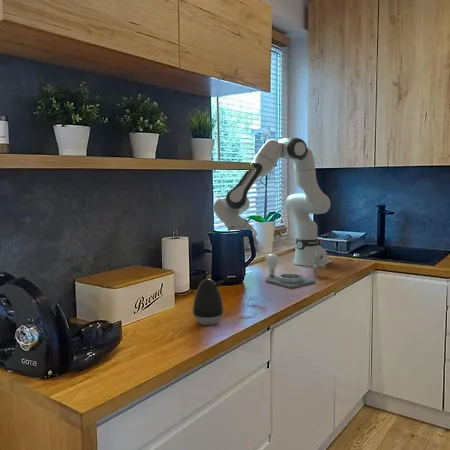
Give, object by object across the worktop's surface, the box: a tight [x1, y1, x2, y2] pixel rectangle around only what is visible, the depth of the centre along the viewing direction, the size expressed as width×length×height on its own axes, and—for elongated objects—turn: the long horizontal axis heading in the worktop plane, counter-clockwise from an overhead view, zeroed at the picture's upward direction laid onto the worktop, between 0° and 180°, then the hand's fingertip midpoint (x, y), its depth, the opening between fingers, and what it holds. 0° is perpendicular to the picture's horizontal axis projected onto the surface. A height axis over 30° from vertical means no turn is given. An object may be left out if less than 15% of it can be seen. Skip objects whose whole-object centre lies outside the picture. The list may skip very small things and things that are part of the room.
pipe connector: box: [304, 256, 327, 278], centre depth 220 cm, size 10×10×10 cm
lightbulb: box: [265, 253, 279, 277], centre depth 221 cm, size 6×6×11 cm
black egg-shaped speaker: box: [192, 278, 224, 326], centre depth 152 cm, size 10×10×15 cm
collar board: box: [265, 273, 316, 290], centre depth 208 cm, size 16×16×3 cm
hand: (253, 246), depth 225 cm, fingers open, 8 cm apart
